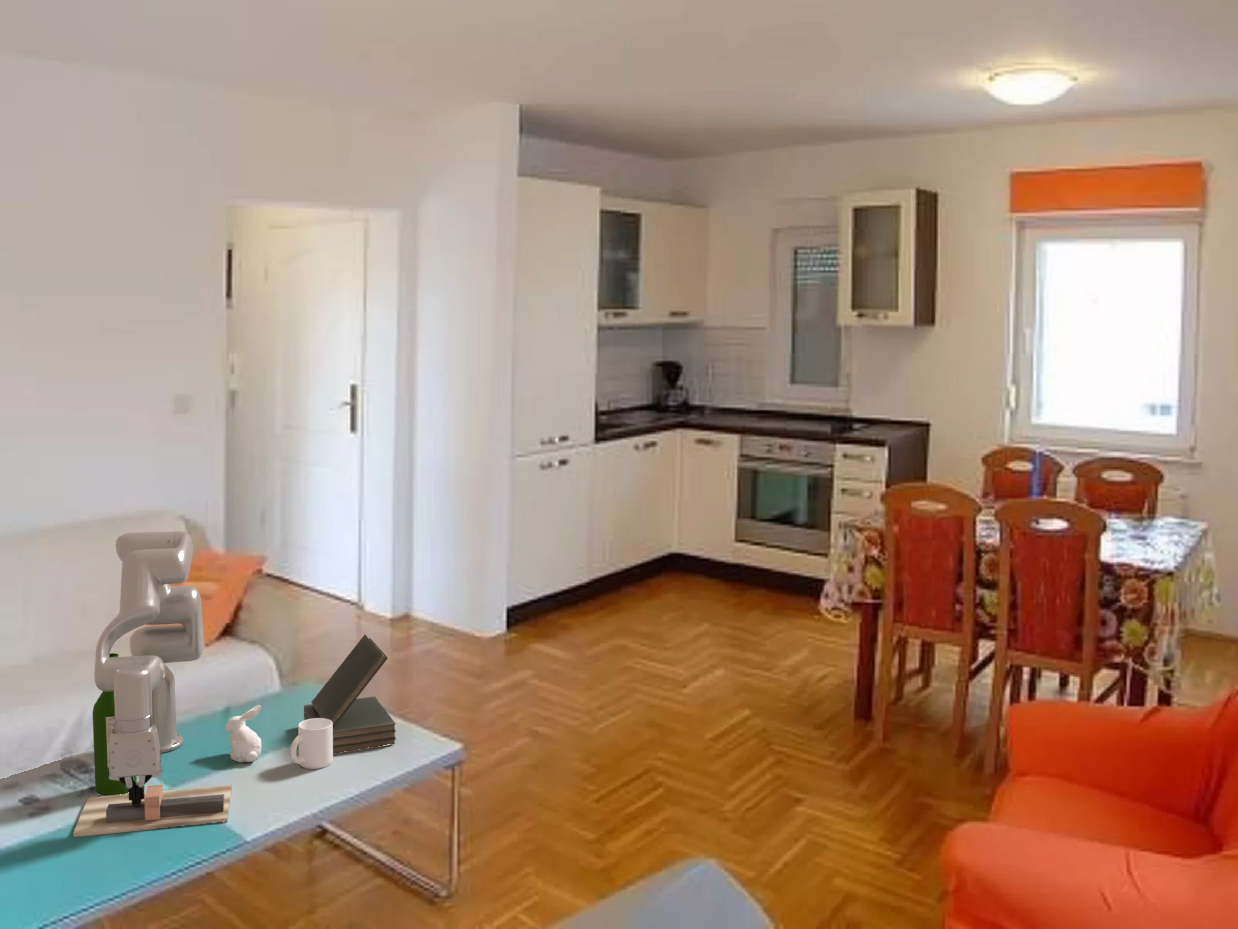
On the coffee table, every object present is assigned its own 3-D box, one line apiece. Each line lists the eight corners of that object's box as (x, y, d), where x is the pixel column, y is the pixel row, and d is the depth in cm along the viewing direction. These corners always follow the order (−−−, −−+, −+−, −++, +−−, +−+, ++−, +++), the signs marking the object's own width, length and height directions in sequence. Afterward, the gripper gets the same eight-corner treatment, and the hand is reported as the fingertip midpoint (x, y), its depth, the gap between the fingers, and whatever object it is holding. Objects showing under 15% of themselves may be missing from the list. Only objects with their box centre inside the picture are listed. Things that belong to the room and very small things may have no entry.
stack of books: (304, 727, 302) (302, 638, 299) (375, 717, 311) (374, 631, 307) (320, 757, 282) (319, 662, 278) (395, 746, 290) (395, 654, 287)
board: (88, 801, 252) (88, 786, 252) (231, 788, 261) (231, 773, 261) (73, 837, 235) (72, 820, 235) (227, 822, 244) (226, 806, 243)
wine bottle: (105, 800, 253) (100, 663, 249) (89, 788, 259) (83, 654, 255) (143, 789, 260) (139, 655, 256) (127, 777, 266) (122, 646, 262)
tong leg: (107, 817, 242) (107, 807, 241) (109, 814, 243) (108, 804, 243) (223, 807, 248) (223, 797, 248) (224, 804, 250) (224, 794, 249)
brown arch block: (148, 808, 247) (148, 786, 246) (163, 807, 248) (162, 784, 247) (145, 820, 241) (144, 798, 240) (159, 819, 242) (159, 796, 241)
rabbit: (222, 753, 282) (221, 708, 280) (258, 745, 288) (257, 700, 286) (239, 768, 273) (238, 722, 271) (276, 760, 279) (275, 714, 277)
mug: (302, 777, 268) (302, 736, 267) (279, 769, 273) (279, 729, 272) (339, 761, 278) (339, 722, 277) (317, 754, 283) (316, 715, 281)
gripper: (93, 731, 235) (96, 813, 237) (168, 726, 239) (171, 806, 241) (99, 719, 242) (102, 798, 244) (172, 714, 246) (175, 792, 248)
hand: (136, 802), depth 243 cm, fingers closed
